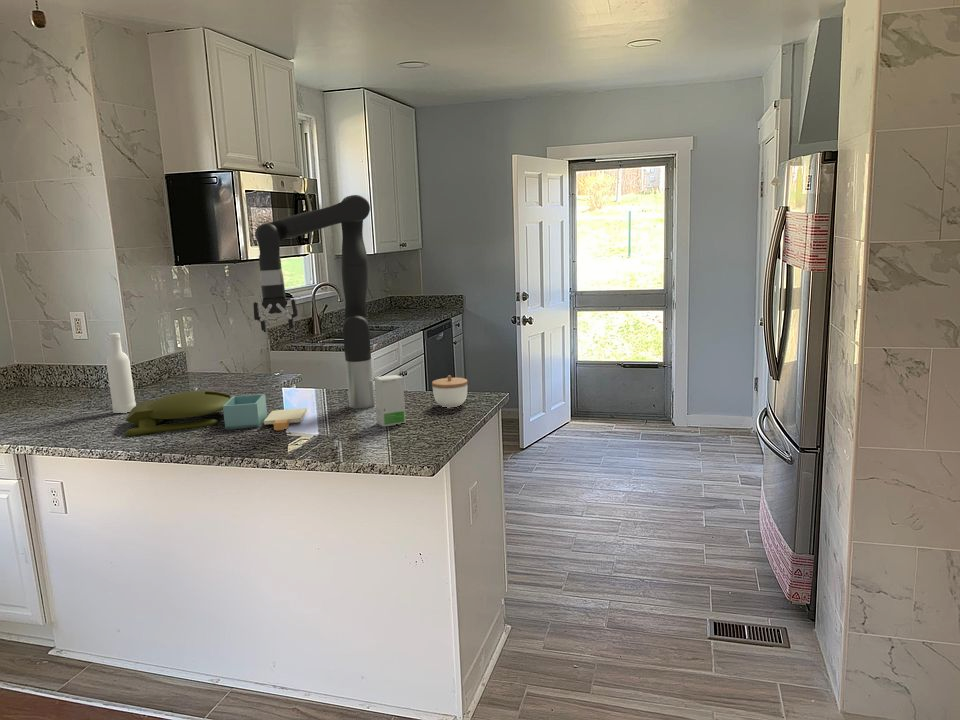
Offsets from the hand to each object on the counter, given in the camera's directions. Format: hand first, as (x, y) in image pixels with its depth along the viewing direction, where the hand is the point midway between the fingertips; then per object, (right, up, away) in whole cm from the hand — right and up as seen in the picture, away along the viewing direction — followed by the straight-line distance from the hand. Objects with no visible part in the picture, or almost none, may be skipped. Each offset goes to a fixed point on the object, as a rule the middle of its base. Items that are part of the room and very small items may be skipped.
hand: (277, 330), depth 245 cm
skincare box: (+40, -31, -10) cm, 52 cm away
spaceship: (-36, -32, +9) cm, 49 cm away
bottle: (-65, -30, +26) cm, 76 cm away
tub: (-11, -31, +1) cm, 33 cm away
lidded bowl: (+59, -27, +10) cm, 66 cm away
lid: (+3, -31, -1) cm, 32 cm away
